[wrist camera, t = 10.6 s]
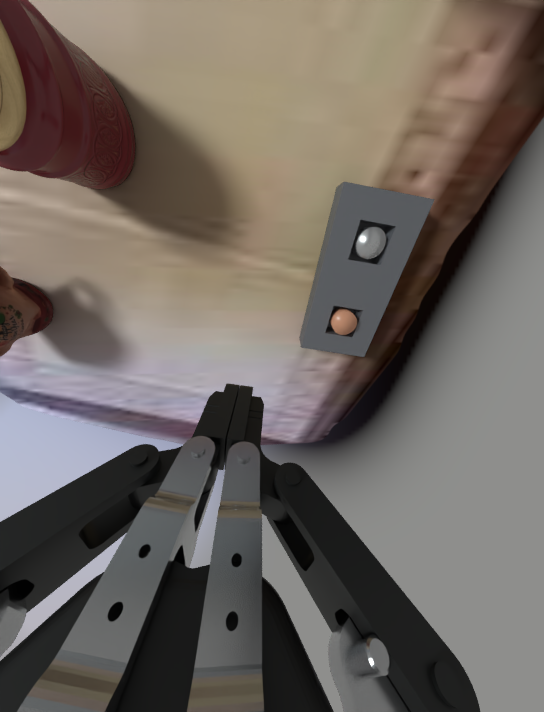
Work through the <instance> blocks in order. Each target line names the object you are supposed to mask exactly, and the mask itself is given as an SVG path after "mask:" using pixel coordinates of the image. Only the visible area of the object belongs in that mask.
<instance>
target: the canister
mask: <svg viewBox="0 0 544 712" xmlns="http://www.w3.org/2000/svg"><path fill="white" fill-rule="evenodd" d="M134 159H135V136H134V131H133V126H132V122H131V119H130V116H129V114H128V111H127V109H126V106H125V104H124V102H123V100H122V98H121V96H120V95H119V93H118V91H117V90H116V88H115V87H114V86H113V84H112V83H111V81H110V80H109V79H108V77H107V76H106V74H105V73H104V72H103V71H102V69H101V68H100V67H99V66H98V65H97V64H96V63H95V62H94V61H93V60H92V59H91V58H90V57H89V56H88V55H87V54H86V53H85V52H84V51H83V50H81V49H80V48H79V47H78V46H76V45H75V44H73V43H72V42H70V41H69V40H68V39H67V38H65V37H64V36H63V35H62V34H61V33H60V32H59V31H58V30H57V29H56V28H54V27H53V26H52V25H51V24H50V23H49V22H48V21H47V20H46V19H45V17H44V16H43V15H42V14H41V13H40V12H39V11H38V10H37V9H36V8H35V7H34V5H32V4H31V3H30V2H29V1H28V0H0V167H3V168H6V169H10V170H14V171H28V172H30V173H32V174H35V175H38V176H41V177H46V178H57V179H61V180H65V181H70V182H73V183H76V184H78V185H81V186H84V187H88V188H93V189H106V188H112V187H115V186H118V185H119V184H121V183H122V182H123V181H125V179H126V178H127V177H128V176H129V174H130V172H131V170H132V167H133V164H134Z"/></svg>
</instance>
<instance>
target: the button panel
mask: <svg viewBox="0 0 544 712" xmlns="http://www.w3.org/2000/svg"><path fill="white" fill-rule="evenodd" d="M433 202H434V199H429V198H424V197H419V196H414V195H409V194H404V193H399V192H394V191H389V190H384V189H379V188H373V187H368V186H363V185H358V184H353V183H348V182H343V183H342V184H340V185H339V186H338V187H337V188H336V192H335V196H334V200H333V204H332V208H331V212H330V216H329V220H328V224H327V228H326V232H325V236H324V241H323V245H322V249H321V253H320V257H319V261H318V265H317V269H316V273H315V277H314V281H313V285H312V289H311V293H310V297H309V301H308V305H307V309H306V313H305V317H304V321H303V325H302V330H301V334H300V344H301V347H302V348H308V349H315V350H321V351H328V352H334V353H341V354H347V355H354V356H360V357H364V356H365V354H366V352H367V350H368V347H369V345H370V343H371V341H372V338H373V336H374V334H375V332H376V329H377V327H378V325H379V323H380V320H381V318H382V316H383V314H384V311H385V309H386V307H387V305H388V303H389V300H390V298H391V296H392V294H393V291H394V289H395V287H396V285H397V282H398V280H399V278H400V276H401V273H402V271H403V269H404V267H405V264H406V262H407V260H408V258H409V255H410V253H411V251H412V249H413V246H414V244H415V242H416V240H417V238H418V235H419V233H420V231H421V229H422V226H423V224H424V222H425V220H426V217H427V215H428V213H429V211H430V208H431V206H432V204H433ZM365 227H378V228H380V229H382V230H383V231H384V233H385V235H386V243H385V246H384V249H383V250H382V252H381V253H380V254H379V255H378V256H376V257H374V258H371V259H365V258H361V257H358V256H356V255H354V254H353V252H352V250H351V249H352V246H353V242H354V239H355V236H356V233H357V231H358V230H360V229H362V228H365ZM338 307H345V308H348V309H349V310H350V311H351V312H352V313H353V314H354V315H355V317H356V319H357V325H356V328H355V329H354V330H353V331H352V332H351V333H349V334H346V335H340V334H337V333H336V332H335V331H334V329H333V328H332V326H331V324H330V322H329V319H330V316H331V313H332V311H333V310H334V309H336V308H338Z"/></svg>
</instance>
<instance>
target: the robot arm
mask: <svg viewBox="0 0 544 712" xmlns="http://www.w3.org/2000/svg"><path fill="white" fill-rule="evenodd" d="M252 391H253V387H249V386H242V385H241V386H240V385H234V384H226V387H225V390H224V392H218V391H215V392H214V393H213V394H212V395H211V396H210V397H209V399H208V401H207V404H206V406H205V408H204V411H203V413H202V415H201V418H200V420H199V423H198V425H197V427H196V430H195V432H194V434H193V436H192V438H191V439H189V440H188V441H187V442H185V444H184V445H183V446H181V447H179V448H176V449H171V450H166V451H158V449H157V448H156V447H155V446H153V445H148V444H143V445H139V446H135V447H133V448H131V449H129V450H128V451H126V452H124V453H122V454H121V455H119V456H117V457H115V458H114V459H112V460H110V461H108V462H106V463H105V464H103V465H101V466H99V467H97V468H96V469H94V470H92V471H91V472H89V473H87V474H85V475H83V476H81V477H80V478H78V479H76V480H74V481H72V482H71V483H69V484H67V485H65V486H64V487H62V488H60V489H58V490H56V491H55V492H53V493H51V494H49V495H48V496H46V497H44V498H42V499H41V500H39V501H37V502H35V503H33V504H31V505H30V506H28V507H26V508H24V509H23V510H21V511H19V512H17V513H15V514H14V515H12V516H10V517H8V518H7V519H5V520H3V521H1V522H0V656H1V655H2V654H3V653H4V652H5V651H6V650H7V649H8V648H9V647H10V646H11V644H12V643H13V642H14V640H15V639H16V637H17V635H18V633H19V631H20V629H21V627H22V625H23V623H24V620H25V617H26V613H27V612H28V611H30V610H31V609H32V608H34V607H35V606H36V605H37V604H39V603H40V602H41V601H42V600H43V599H45V598H46V597H47V596H48V595H50V594H51V593H52V592H53V591H55V590H56V589H57V588H58V587H60V586H61V585H62V584H63V583H65V582H66V581H67V580H68V579H69V578H71V577H72V576H73V575H74V574H76V573H77V572H78V571H79V570H81V569H82V568H83V567H84V566H86V565H87V564H88V563H89V562H90V561H92V560H93V559H94V558H95V557H97V556H98V555H99V554H101V553H102V552H103V551H104V550H105V549H107V548H108V547H109V546H110V545H112V544H113V543H114V542H115V541H117V540H118V539H119V538H120V537H122V536H123V535H124V534H125V533H127V534H126V535H125V537H124V539H123V541H122V542H121V544H120V546H119V547H118V549H117V551H116V553H115V555H114V557H113V558H112V560H111V561H110V564H109V565H108V567H107V568H106V570H105V572H103V573H102V574H100V575H98V576H97V577H95V578H94V579H93V580H91V581H90V582H89V583H87V584H86V585H85V586H84V587H83V588H81V589H80V590H79V591H78V592H77V593H76V594H75V595H74V596H72V597H71V598H70V599H69V600H68V601H67V602H66V603H65V604H63V605H62V606H61V607H60V608H59V609H58V610H57V611H56V612H55V613H53V614H52V615H51V616H50V617H49V618H48V619H47V620H46V621H45V622H43V623H42V624H41V625H40V626H39V627H38V628H37V629H36V630H34V631H33V632H32V633H31V634H30V635H29V636H28V637H27V638H26V639H24V640H23V641H22V642H21V643H20V644H19V645H18V646H17V647H15V648H14V649H13V650H12V651H11V652H10V653H9V654H8V655H7V656H6V657H4V658H3V659H2V660H1V661H0V712H333V709H332V707H331V705H330V703H329V701H328V698H327V696H326V694H325V692H324V690H323V687H322V685H321V683H320V681H319V679H318V677H317V674H316V672H315V670H314V668H313V666H312V664H311V662H310V659H309V657H308V655H307V653H306V651H305V648H304V646H303V644H302V642H301V640H300V637H299V635H298V633H297V631H296V629H295V627H294V624H293V622H292V620H291V618H290V616H289V614H288V612H287V609H286V607H285V605H284V603H283V601H282V599H281V598H280V596H279V594H278V593H277V592H276V590H275V589H274V588H273V587H272V585H271V584H270V583H269V582H268V581H267V580H266V579H264V578H263V577H262V514H264V515H265V516H267V519H268V521H269V523H270V525H271V526H272V528H273V530H274V532H275V533H276V535H277V537H278V539H279V540H280V542H281V544H282V546H283V547H284V549H285V551H286V552H287V554H288V556H289V558H290V560H291V561H292V563H293V565H294V566H295V568H296V570H297V572H298V573H299V575H300V577H301V579H302V580H303V582H304V584H305V586H306V587H307V589H308V591H309V593H310V594H311V596H312V598H313V600H314V601H315V603H316V605H317V607H318V608H319V610H320V612H321V614H322V615H323V617H324V619H325V620H326V622H327V624H328V626H329V628H330V629H331V631H332V634H331V638H330V641H329V649H328V655H329V665H330V670H331V674H332V677H333V680H334V683H335V685H336V687H337V690H338V692H339V695H340V698H341V702H342V706H343V711H344V712H480V708H479V704H478V700H477V697H476V694H475V691H474V689H473V686H472V684H471V682H470V680H469V678H468V676H467V674H466V672H465V670H464V668H463V667H462V665H461V664H460V662H459V661H458V659H457V658H456V657H455V655H454V654H453V653H452V652H451V650H450V649H449V648H448V647H447V645H446V644H445V643H444V642H443V641H442V639H441V638H440V637H439V636H438V634H437V633H436V632H435V631H434V629H433V628H432V627H431V626H430V624H429V623H428V622H427V621H426V620H425V618H424V617H423V616H422V614H421V613H420V612H419V611H418V610H417V608H416V607H415V606H414V605H413V603H412V602H411V601H410V600H409V599H408V597H407V596H406V595H405V594H404V592H403V591H402V590H401V589H400V588H399V586H398V585H397V584H396V583H395V581H394V580H393V579H392V577H390V575H389V574H388V573H387V571H386V570H385V569H384V568H383V566H382V565H381V564H380V563H379V561H378V560H377V559H376V558H375V557H374V555H373V554H372V553H371V552H370V551H369V549H368V548H367V547H366V545H365V544H364V543H363V542H362V541H361V539H360V538H359V537H358V536H357V534H356V533H355V532H354V531H353V530H352V528H351V527H350V526H349V525H348V523H347V522H346V521H345V520H344V518H343V517H342V516H341V515H340V514H339V512H338V511H337V510H336V508H335V507H334V506H333V505H332V503H331V502H330V501H329V500H328V499H327V497H326V496H325V495H324V494H323V492H322V491H321V490H320V489H319V487H318V486H317V485H316V484H315V483H314V481H313V480H312V479H311V478H310V476H309V475H308V474H307V473H306V472H305V470H304V469H303V468H302V467H301V466H299V465H297V464H295V463H284V464H282V465H278V464H276V463H274V462H272V461H270V460H269V459H268V458H266V457H265V455H264V454H263V452H262V451H261V447H260V442H261V431H262V419H263V409H264V404H263V401H262V399H261V397H254V396H252ZM224 465H225V475H224V482H223V489H222V495H221V502H220V507H219V511H218V517H217V523H216V530H215V536H214V542H213V549H212V555H211V562H210V565H206V566H202V567H198V568H193V569H192V568H189V567H190V564H191V561H192V557H193V554H194V550H195V546H196V541H197V536H198V533H199V530H200V527H201V524H202V521H203V517H204V515H205V512H206V508H207V505H208V503H209V500H210V497H211V493H212V491H213V487H214V483H215V480H216V476H217V472H218V469H219V470H223V469H224Z"/></svg>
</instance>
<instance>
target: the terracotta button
mask: <svg viewBox="0 0 544 712" xmlns="http://www.w3.org/2000/svg"><path fill="white" fill-rule="evenodd" d="M329 322H330V324H331V326H332V328H333V329H334V331H335V332H336V333H337V334H340V335H346V334H349V333H351V332H352V331H353V330H354V329H355V328H356V325H357V319H356V317H355V315H354V314H353V313H352V312H351V311H350V310H349V309H348V308H345V307H338V308H336V309H334V310H333V311H332V313H331V316H330V319H329Z"/></svg>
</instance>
